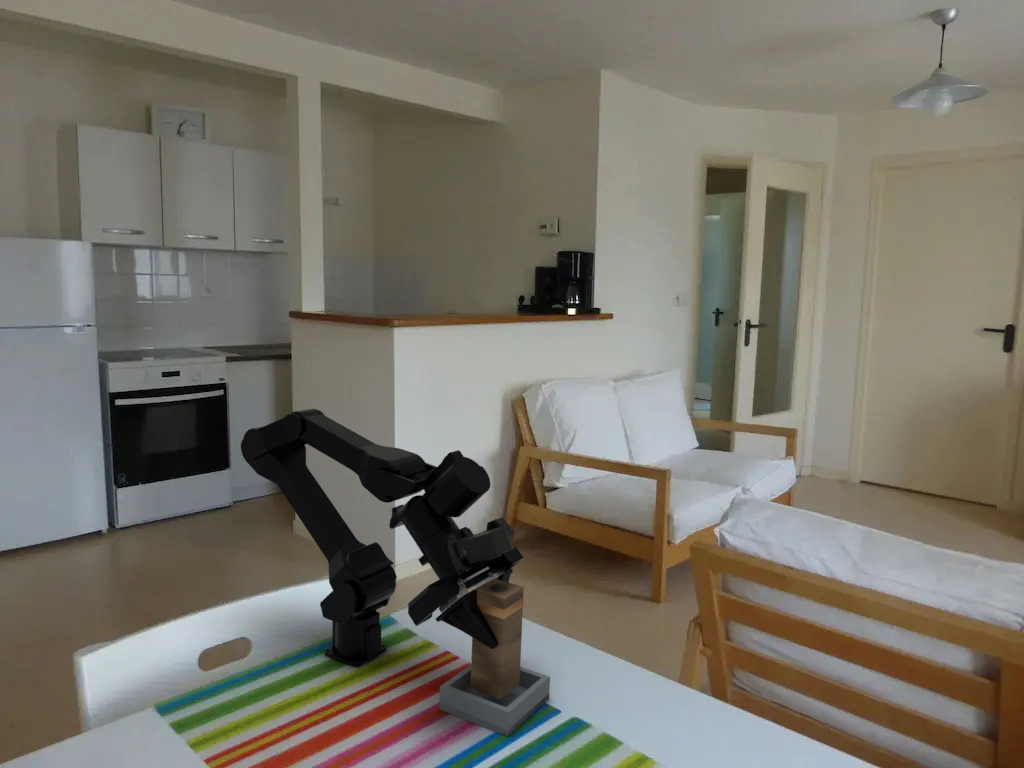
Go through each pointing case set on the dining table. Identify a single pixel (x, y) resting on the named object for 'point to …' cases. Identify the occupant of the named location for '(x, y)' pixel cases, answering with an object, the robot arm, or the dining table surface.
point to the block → (499, 639)
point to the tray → (495, 701)
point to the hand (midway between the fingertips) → (506, 639)
